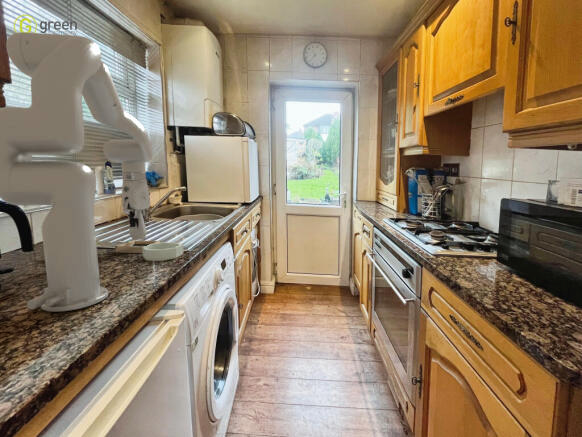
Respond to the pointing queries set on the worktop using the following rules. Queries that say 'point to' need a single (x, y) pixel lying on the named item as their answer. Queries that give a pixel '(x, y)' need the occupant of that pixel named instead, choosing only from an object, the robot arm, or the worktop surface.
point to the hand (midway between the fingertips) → (137, 227)
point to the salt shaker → (140, 231)
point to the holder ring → (162, 251)
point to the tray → (129, 249)
